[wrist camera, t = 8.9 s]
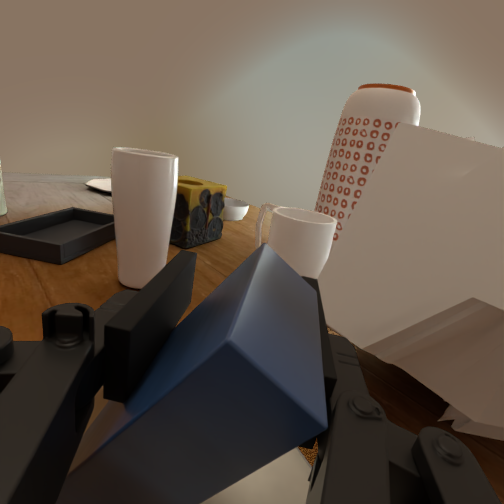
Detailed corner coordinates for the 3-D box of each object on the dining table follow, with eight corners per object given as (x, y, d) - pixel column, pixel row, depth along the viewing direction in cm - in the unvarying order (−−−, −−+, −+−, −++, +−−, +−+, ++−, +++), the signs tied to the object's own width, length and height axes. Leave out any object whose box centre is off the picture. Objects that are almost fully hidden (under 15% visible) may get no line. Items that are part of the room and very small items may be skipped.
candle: (182, 225, 62) (186, 175, 59) (223, 239, 57) (229, 185, 54) (141, 233, 53) (143, 175, 50) (186, 250, 49) (191, 187, 46)
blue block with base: (6, 742, 8) (404, 654, 4) (-155, 649, 8) (97, 414, 3) (168, 413, 19) (331, 282, 14) (104, 361, 18) (253, 206, 13)
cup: (267, 260, 50) (278, 200, 47) (330, 291, 43) (349, 221, 39) (230, 269, 44) (239, 201, 41) (295, 306, 37) (313, 226, 34)
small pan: (233, 224, 69) (235, 207, 68) (170, 206, 76) (171, 191, 74) (254, 217, 78) (256, 202, 77) (196, 202, 85) (197, 188, 84)
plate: (97, 181, 92) (97, 176, 91) (165, 188, 97) (165, 184, 96) (78, 193, 74) (78, 187, 73) (163, 201, 79) (163, 196, 79)
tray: (61, 264, 38) (59, 245, 37) (-15, 249, 38) (-18, 229, 38) (128, 232, 53) (128, 217, 52) (73, 221, 54) (72, 207, 53)
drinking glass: (133, 300, 33) (137, 154, 28) (99, 277, 36) (97, 144, 31) (182, 283, 38) (192, 158, 33) (148, 265, 41) (153, 149, 36)
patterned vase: (290, 255, 54) (327, 78, 45) (324, 244, 65) (360, 97, 55) (363, 284, 47) (425, 78, 38) (388, 266, 57) (442, 101, 48)
